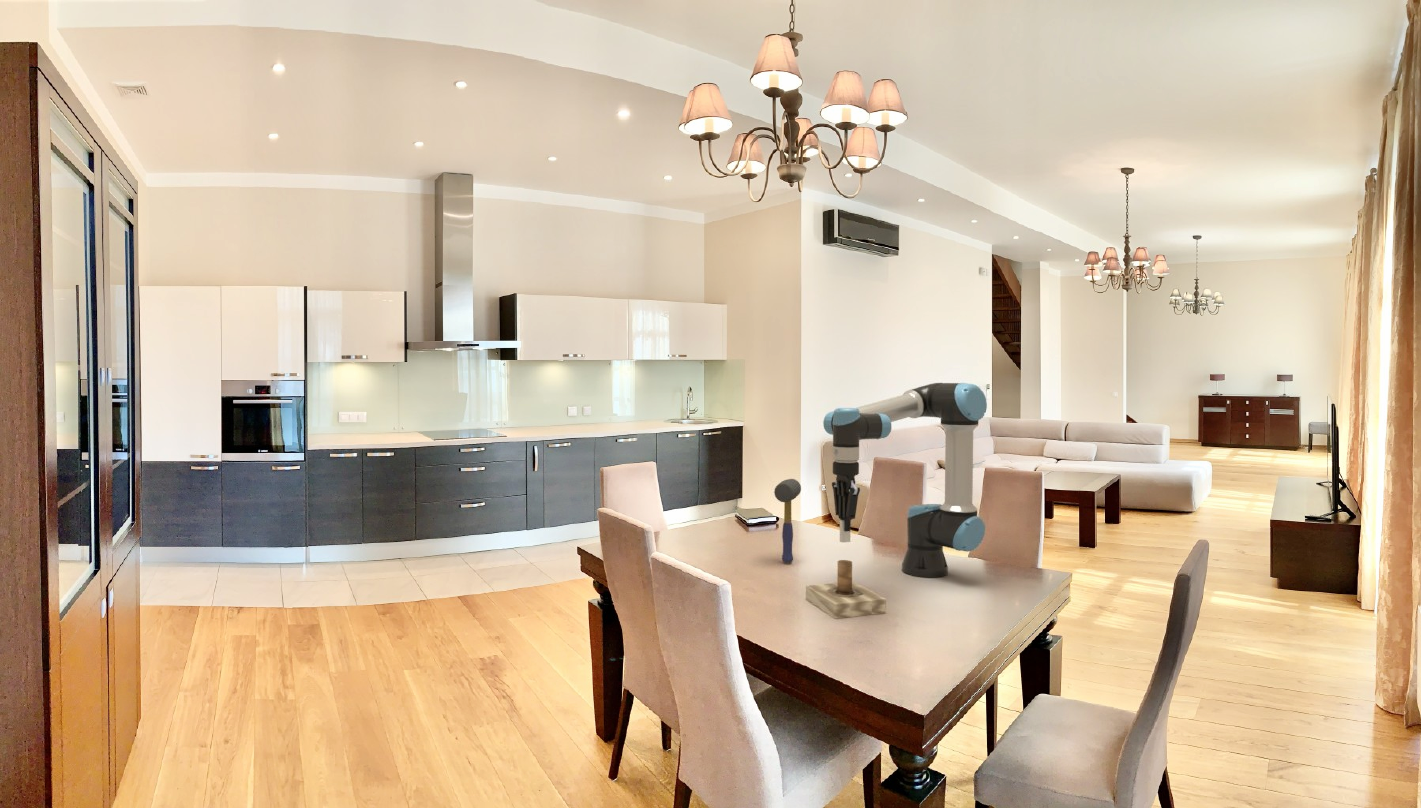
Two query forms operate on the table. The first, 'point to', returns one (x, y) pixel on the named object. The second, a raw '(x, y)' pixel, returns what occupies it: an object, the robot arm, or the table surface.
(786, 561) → the rubber mallet
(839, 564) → the peg
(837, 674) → the table surface
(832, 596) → the board
